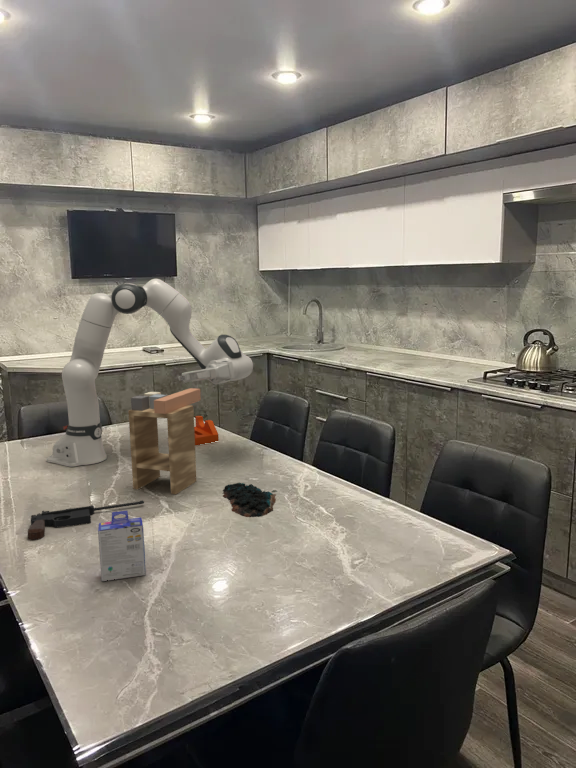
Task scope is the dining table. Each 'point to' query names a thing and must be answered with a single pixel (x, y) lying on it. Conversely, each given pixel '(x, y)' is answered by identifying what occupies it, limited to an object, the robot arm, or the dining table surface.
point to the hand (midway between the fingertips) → (188, 377)
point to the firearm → (65, 518)
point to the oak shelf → (147, 448)
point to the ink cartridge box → (121, 547)
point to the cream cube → (151, 394)
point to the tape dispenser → (205, 431)
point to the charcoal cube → (140, 403)
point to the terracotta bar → (176, 400)
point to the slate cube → (154, 397)
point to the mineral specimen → (249, 500)
